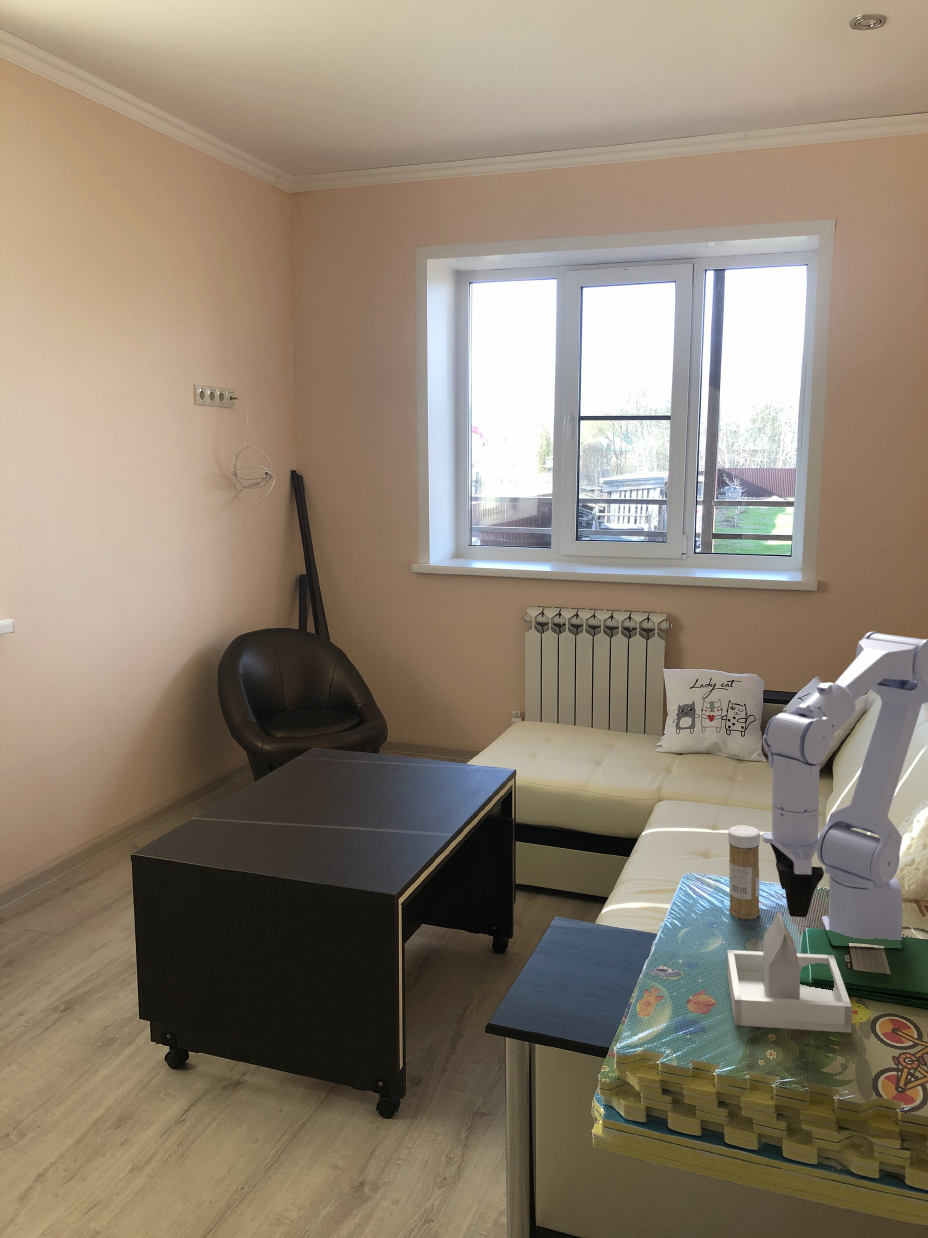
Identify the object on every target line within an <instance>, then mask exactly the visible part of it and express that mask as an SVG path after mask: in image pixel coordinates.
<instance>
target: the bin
mask: <svg viewBox="0 0 928 1238" xmlns="http://www.w3.org/2000/svg"><path fill="white" fill-rule="evenodd" d="M796 954H797V958H798V962H799V965H800V972H801V969H802V967H804V966H807V965H808V964H810V963H811V964H815V963H821V964H822V963H823V964H828V965H829V968H830V971H831V974H832V976H833V980H834V988H833V991H832V990H828V989H827V990H826V989H821V988H815V987H809V986H806V985H802V984H800V1000H797V999H780V998H766V993H765V987H764V982H763V951H756V950H755V951H753V950H735V949H727V951H726V956H727V957H726V959H727V961H726V965H727V966H726V969H727V970H726V971H727V973H726V974H727V980H728V987H729V988H728V989H729V994H730V1001H731V1008H732V1015H733V1021H734V1022H733V1023H734V1026H740V1027H743V1026H744V1027H759V1028H771V1029H772V1028H774V1029H791V1030H803V1031H804V1030H805V1031H818V1032H819V1031H821V1032H835V1033H847V1034H848V1033H849V1034H852V1021H853V1020H852V1018H853V1017H852V1015H853V1013H852V1012H853V1006H852V1003H851V1000H850V997H849V995H848V992H847V989H846V986H845V983H844V981H843V977H842V975H841V972H840V969H839V967H838V964H837V961H836V958H835V955H832V954H819V953H818V954H817V953H816V954H814V953H813V954H812V953H797V952H796Z"/></svg>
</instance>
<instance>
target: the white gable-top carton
mask: <svg viewBox="0 0 928 1238" xmlns="http://www.w3.org/2000/svg"><path fill="white" fill-rule="evenodd" d="M762 942H763V943H762V945H763V946H762V947H763V948H762V952H763V982H764V987H765V993H766V998H780V999H797V1000H800V965H799V962H798V958H797V954H796V953H797V950H796V947H795V942H794V939H793V937H792V935H791V934H790V932H789V930H788V927H787V925H786V923H785V922H784V918H783V917H782V912H781V910H780V911H779V909H777V910H776V913H775V917H774V919H773V920H772V922H771V924H770V926H769V928H768V930H767V932H766V933H765V935H764V936H763V939H762Z"/></svg>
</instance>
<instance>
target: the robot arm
mask: <svg viewBox="0 0 928 1238" xmlns="http://www.w3.org/2000/svg"><path fill="white" fill-rule="evenodd" d="M870 690H871V691H872V692H873V693H875V694H876V695H877V696H879V698H880V700H881V706H880V709H879V712H878V715H877V718H876V721H875V725H874V727H873V732H872V734H871V738H870V740H869V744H868V747H867V749H866V750H867V751H866V754H865V757H864V759H863V763H862V767H861V768H860V772H859V775H858V779H857V782H856V785H855V787H854V791H853V794H852V797H851V801H850V803H849V804H848V805H847V806H844V807H841V808H838V809H837V810H835V811H832V812H831V813H829V817H828V819H827V822H826V824H825V826H824V827H823V829H822V830H821V831H820V833H819V814H820V813H819V812H820V811H819V807H820V805H819V803H820V799H819V798H820V766H821V765H820V762H822V761H824V760H825V758H826V757H827V755H828V753H829V749H830V747H831V744H832V742H834V739H835V734H836V733H837V732H838V730H840V729H841V727H843V726H844V725H846V723H847V722H848V721H849V720H850V719H851V718H852V717H853V716H854V715H855V713H856V709H857V708H856V703H855V702H857V700H858V699H860V698H862V696H864V695H865V694H866V693H868V692H869V691H870ZM927 703H928V638H925V639H924V638H917V637H908V636H902V635H896V634H895V635H894V634H887V633H880V632H878V631H869V632H867V633H866V634H865V635H864V636H863V637H862V639H861V640H859V641H858V643H857V647H856V651H855V659H853V661H852V662H851V663H850V664H849V665H848V666H847V668H846V669H845V670H844V671H843V672H842V674H840V676H839V677H838V678H837V679H836V680H835V682H821V683H820V684H819V685H817V686H816V688H815V689H813V691H812V692H811V693H809V694H808V695H807V696H806V697H805V698H804V699H802V701H801V702H799V703H798V704H797V705H796V706H795V707H794V708H793V709H792V710H790V712H780V713H778V714H776V715H774V716H772V718H770V720H768V722H767V724H766V727H765V730H764V735H763V737H762V744H763V747H764V750H765V751H766V753H767V757H768V765H769V767H770V768H771V769H772V791H771V792H772V798H771V799H772V801H771V805H772V806H771V807H772V808H771V809H772V810H771V811H772V814H771V815H772V817H771V819H772V820H771V821H772V822H771V832H763V833H762V842H763V843H765V844H769V845H770V847H771V849H772V851H773V854H774V857H775V861H776V863H775V867H776V870H777V873H778V880H779V883H780V887H781V890H784V894H785V899H786V906H787V910H788V913H789V916H790V917H796V918H807V916H808V914H809V911H810V908H811V907H810V906H811V903H812V900H813V896H814V893H815V891H816V889H817V887H818V885H819V884H820V882H821V881H822V880H823V877H824V875H825V874H827V875H829V892H828V893H829V895H828V897H829V898H828V906H829V907H828V915H823V916H821V920H822V924H823V927H824V929H826V930H831V931H834V932H837V933H840V934H843V935H845V936H849V937H853V938H860V939H875V938H878V939H888V940H902V937H903V935H902V933H903V909H904V908H903V905H904V904H903V893H902V887H901V884H900V881H899V879H898V878H897V877H895V876H896V875H897V872H898V870H899V865H900V860H901V859H900V857H901V856H900V855H901V854H900V851H901V846H902V842H903V841H902V840H903V836H902V835H901V833H900V832H899V830H898V829H897V827H896V826H895V824H893V822H892V820H891V819H890V818H889V816H888V815H889V812H890V809H891V808H892V807H891V806H892V803H893V800H894V797H895V793H896V790H897V787H898V783H899V781H900V777H901V775H902V770H903V768H904V765H905V761H906V758H907V755H908V752H909V749H910V745H911V742H912V738H913V734H914V732H915V729H916V726H917V723H918V719H919V715H920V712H921V709H922V705H924V704H927ZM856 829H858V830H861V831H865V832H867V833H871V834H874V835H876V836H874V835H871V834H867V833H865V832H861V831H858V830H856ZM877 836H878V837H877ZM815 854H816V855H817V856H816V857H817V859H818V862H819V863H820V864H822V865H823V866H824V868H823V866H812V865H813V858H814V855H815ZM826 930H825V931H826ZM902 941H903V940H902Z"/></svg>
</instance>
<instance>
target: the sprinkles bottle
mask: <svg viewBox="0 0 928 1238" xmlns="http://www.w3.org/2000/svg"><path fill="white" fill-rule="evenodd" d="M727 833H728V836H727V838H728V839H727V840H728V844H729V860H728V865H729V867H728V870H729V872H728V874H729V877H728V880H729V882H728V883H729V909H728V910H729V913H730V914H731V916H733V917H735V918H737V919H742V920H751V919H755V918H757V917H758V916H759V915H760V914H761V913H760V912H761V911H760V868H759V866H760V865H759V859H760V857H759V847H760V843H761V833H760V830H759V829H758V828H756V827H754V826H750V825H743V824H742V825H740V824H739V825H735V826H732V827H729V829H728V832H727Z"/></svg>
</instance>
